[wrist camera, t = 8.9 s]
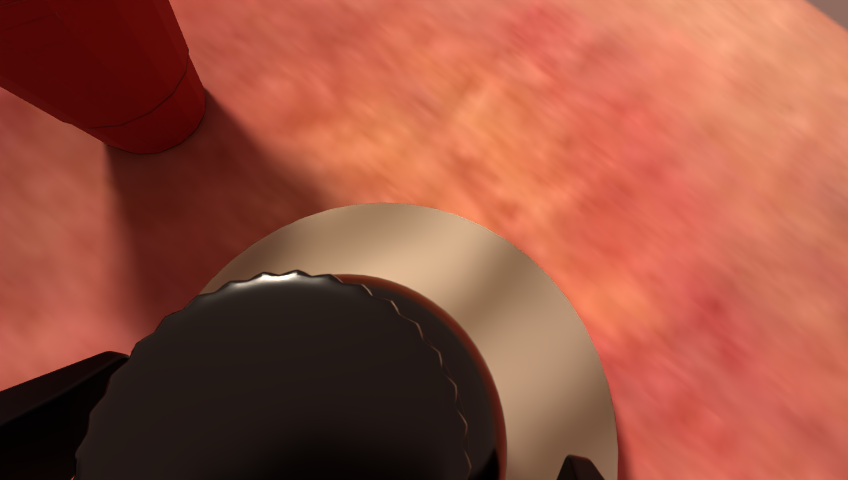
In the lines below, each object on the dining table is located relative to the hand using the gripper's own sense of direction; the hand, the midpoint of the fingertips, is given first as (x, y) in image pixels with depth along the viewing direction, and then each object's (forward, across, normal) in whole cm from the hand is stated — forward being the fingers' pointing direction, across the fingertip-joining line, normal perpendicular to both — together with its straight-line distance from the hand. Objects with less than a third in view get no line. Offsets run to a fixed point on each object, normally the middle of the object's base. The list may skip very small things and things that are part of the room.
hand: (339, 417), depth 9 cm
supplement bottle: (+6, 0, +6) cm, 8 cm away
